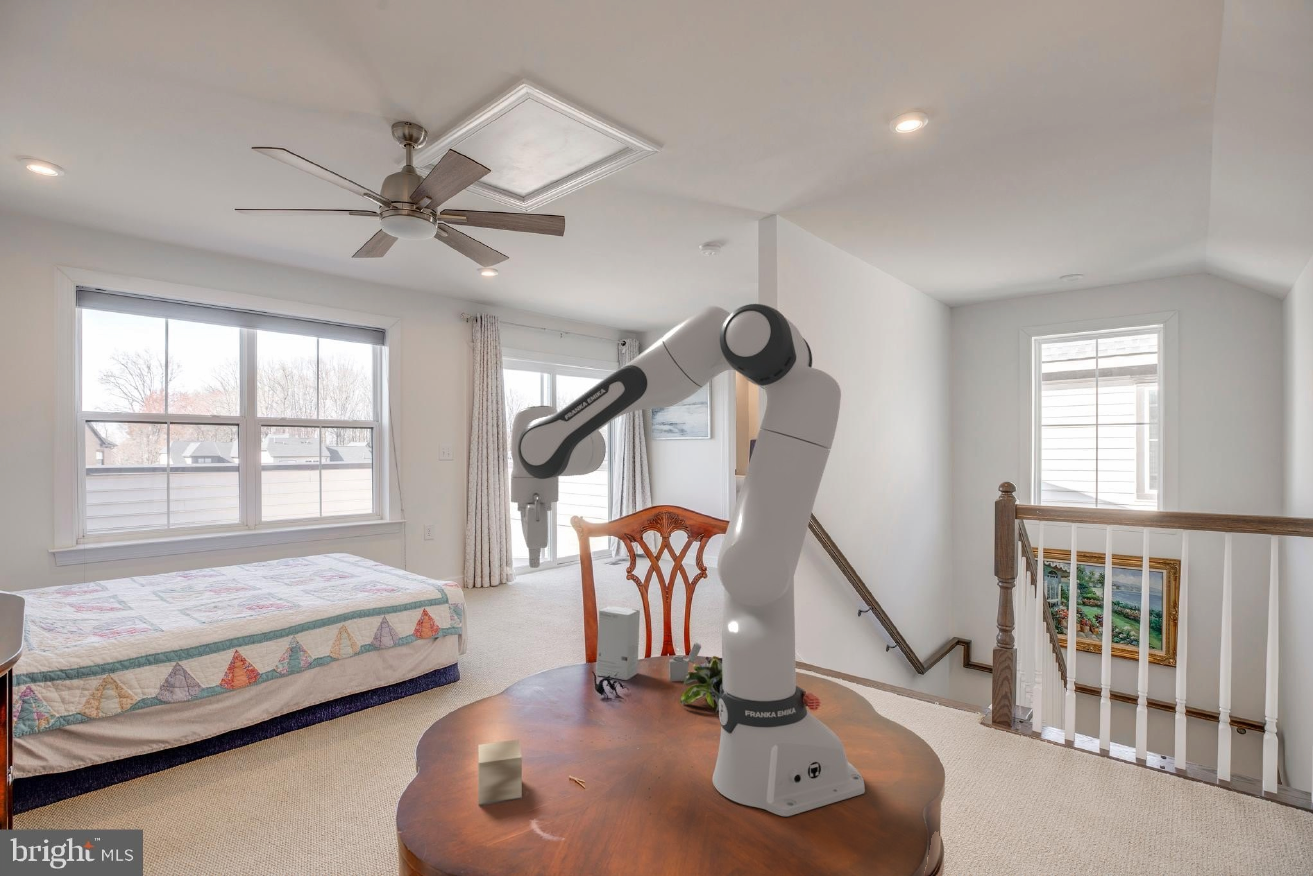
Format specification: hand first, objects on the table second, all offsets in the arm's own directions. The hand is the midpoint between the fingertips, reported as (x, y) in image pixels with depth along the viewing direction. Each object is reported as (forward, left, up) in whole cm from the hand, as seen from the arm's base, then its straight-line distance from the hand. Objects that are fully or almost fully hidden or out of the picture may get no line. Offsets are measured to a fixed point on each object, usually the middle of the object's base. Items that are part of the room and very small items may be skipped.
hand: (534, 566), depth 116 cm
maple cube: (+6, +22, -23) cm, 33 cm away
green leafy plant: (-35, 0, -30) cm, 46 cm away
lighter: (-34, -16, -29) cm, 48 cm away
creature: (-17, -11, -30) cm, 36 cm away
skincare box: (-20, -23, -29) cm, 43 cm away
